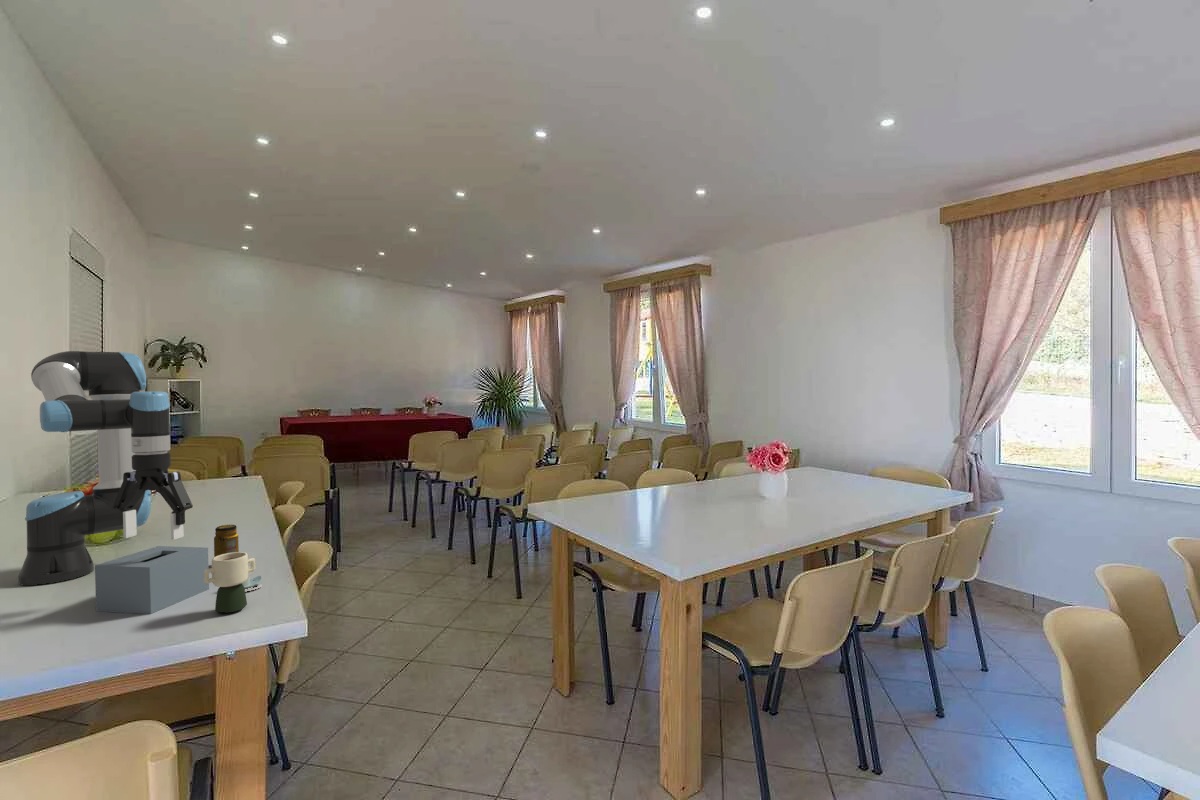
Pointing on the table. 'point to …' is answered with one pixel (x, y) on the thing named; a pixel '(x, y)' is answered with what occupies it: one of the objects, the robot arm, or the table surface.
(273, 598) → the table surface
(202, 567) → the box
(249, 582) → the pacifier
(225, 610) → the character mug
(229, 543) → the condiment
